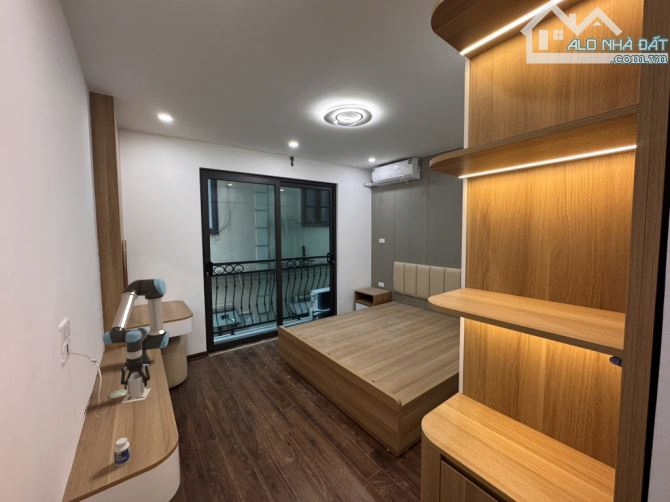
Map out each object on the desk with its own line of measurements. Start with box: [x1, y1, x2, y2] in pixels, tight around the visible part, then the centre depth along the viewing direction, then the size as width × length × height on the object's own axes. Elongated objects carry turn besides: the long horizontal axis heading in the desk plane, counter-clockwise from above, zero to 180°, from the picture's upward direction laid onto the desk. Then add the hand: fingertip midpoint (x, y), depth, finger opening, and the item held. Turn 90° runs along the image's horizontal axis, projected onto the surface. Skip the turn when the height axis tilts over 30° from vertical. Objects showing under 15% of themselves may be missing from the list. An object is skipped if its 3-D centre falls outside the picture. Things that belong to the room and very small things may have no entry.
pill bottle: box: [113, 437, 131, 467], centre depth 120 cm, size 5×5×10 cm
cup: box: [128, 372, 143, 398], centre depth 167 cm, size 8×8×12 cm
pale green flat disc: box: [108, 388, 127, 400], centre depth 169 cm, size 9×9×1 cm
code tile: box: [120, 388, 152, 404], centre depth 168 cm, size 12×12×1 cm
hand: (136, 392), depth 168 cm, fingers closed on cup, 7 cm apart
